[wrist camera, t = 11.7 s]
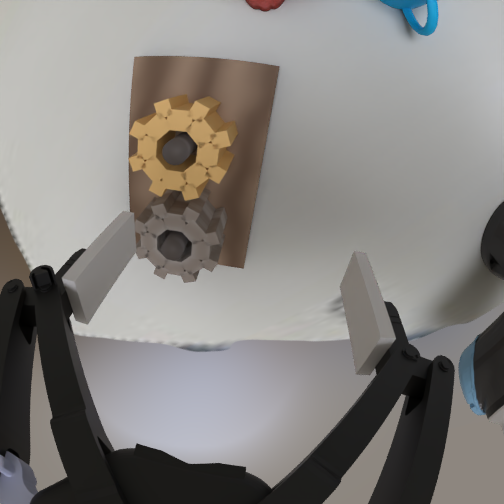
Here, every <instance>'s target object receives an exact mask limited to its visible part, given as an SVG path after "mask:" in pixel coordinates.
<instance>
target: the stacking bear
mask: <svg viewBox="0 0 504 504" xmlns="http://www.w3.org/2000/svg"><path fill="white" fill-rule="evenodd" d="M246 1H247V3H248V4H249V5H250V6H251V7H252V8H254V9H260V10H262V11H268V10H270V9H276V8H278V7H279V6H280V5H281V4H282V3H283V2H284V0H246Z"/></svg>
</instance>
